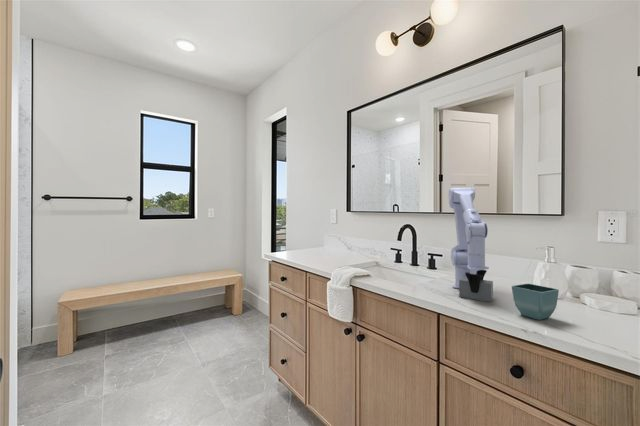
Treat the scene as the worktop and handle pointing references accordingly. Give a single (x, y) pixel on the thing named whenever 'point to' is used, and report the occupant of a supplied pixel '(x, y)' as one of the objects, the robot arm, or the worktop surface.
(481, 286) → the gray rectangular block
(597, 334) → the worktop surface
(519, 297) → the flower pot
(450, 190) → the robot arm
